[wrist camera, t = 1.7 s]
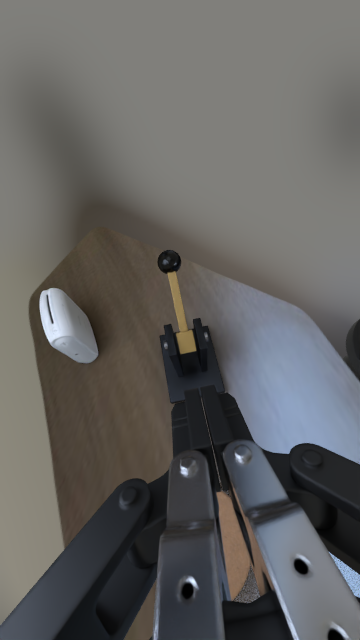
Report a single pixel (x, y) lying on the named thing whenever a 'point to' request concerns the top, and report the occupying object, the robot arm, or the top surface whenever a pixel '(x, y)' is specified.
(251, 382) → the top surface
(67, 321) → the photo printer
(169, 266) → the lever
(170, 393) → the bracket
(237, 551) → the trinket box
